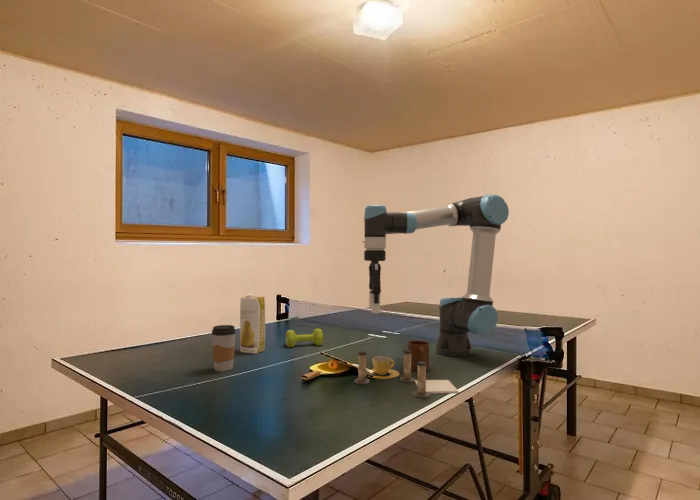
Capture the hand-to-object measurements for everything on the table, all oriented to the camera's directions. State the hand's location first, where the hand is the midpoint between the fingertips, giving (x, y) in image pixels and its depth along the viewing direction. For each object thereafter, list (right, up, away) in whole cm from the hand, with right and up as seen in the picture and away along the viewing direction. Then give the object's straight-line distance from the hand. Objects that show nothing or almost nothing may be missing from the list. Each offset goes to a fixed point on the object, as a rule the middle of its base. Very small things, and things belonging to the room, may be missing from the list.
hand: (374, 310), depth 150 cm
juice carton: (-49, -21, +28) cm, 60 cm away
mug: (+16, -22, +2) cm, 27 cm away
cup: (+3, -22, -2) cm, 22 cm away
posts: (+4, -22, -17) cm, 28 cm away
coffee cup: (-53, -21, +2) cm, 57 cm away
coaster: (+18, -22, -17) cm, 33 cm away
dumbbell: (-29, -22, +40) cm, 54 cm away
